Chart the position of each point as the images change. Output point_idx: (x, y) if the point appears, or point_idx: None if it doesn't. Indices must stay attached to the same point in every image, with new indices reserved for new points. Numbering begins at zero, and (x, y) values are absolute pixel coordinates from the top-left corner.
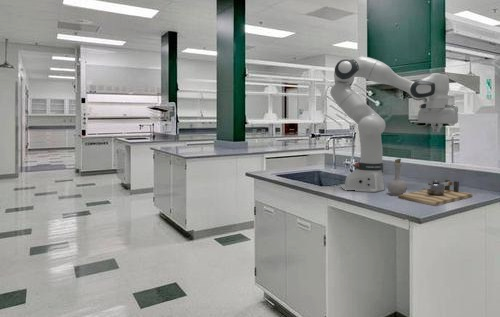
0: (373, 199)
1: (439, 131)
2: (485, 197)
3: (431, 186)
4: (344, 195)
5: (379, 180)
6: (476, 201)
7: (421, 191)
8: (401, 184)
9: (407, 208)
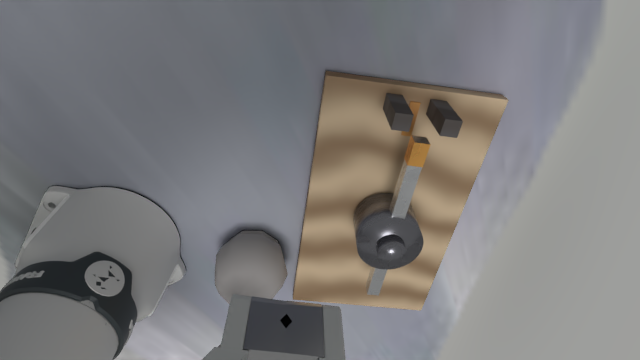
0: None
1: (337, 322)
2: (556, 64)
3: (384, 272)
4: (166, 351)
5: (159, 276)
6: (522, 169)
7: (320, 205)
8: (276, 293)
9: (371, 354)
